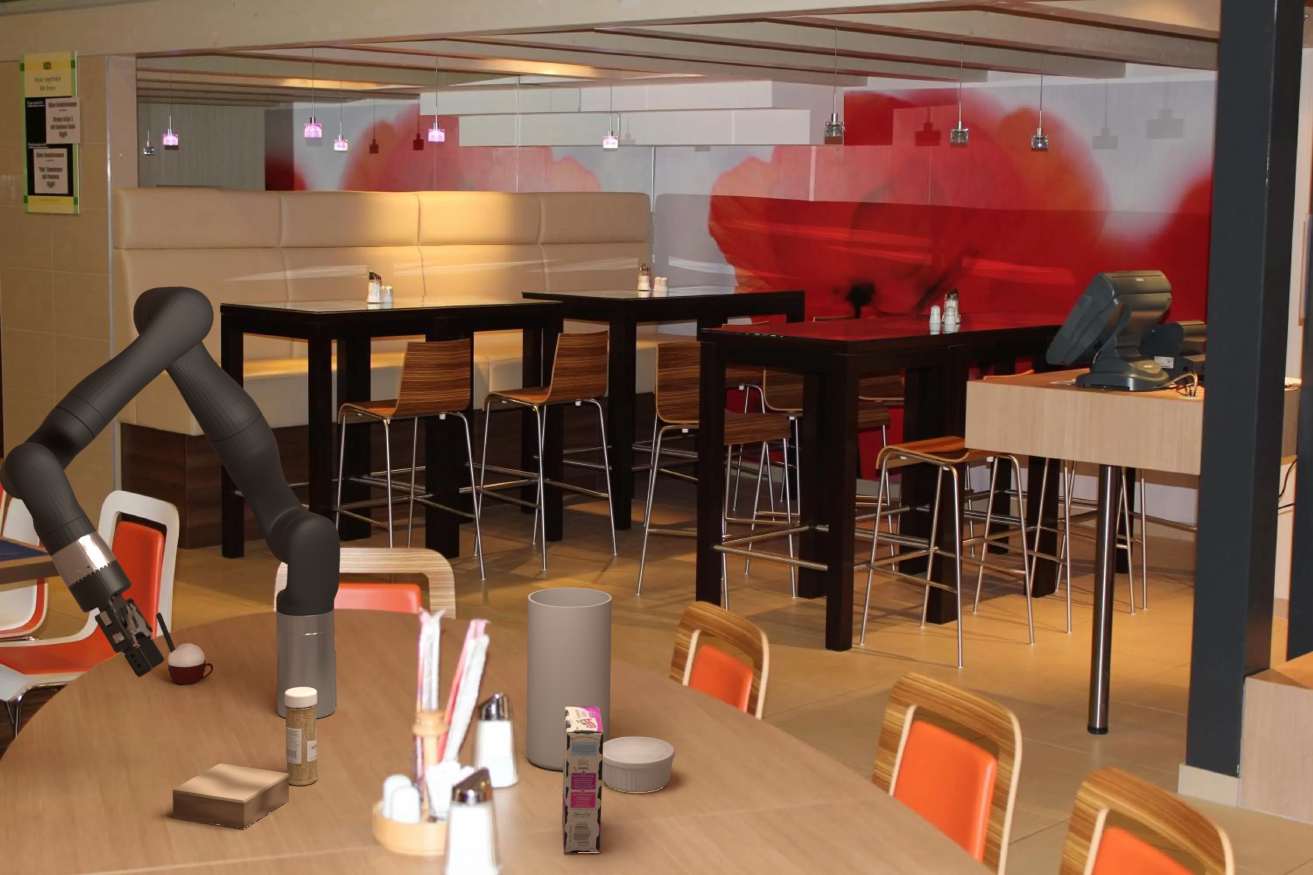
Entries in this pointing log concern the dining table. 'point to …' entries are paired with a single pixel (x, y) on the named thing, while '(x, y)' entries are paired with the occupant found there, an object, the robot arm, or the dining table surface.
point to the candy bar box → (582, 779)
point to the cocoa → (184, 659)
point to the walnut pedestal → (230, 795)
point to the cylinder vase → (565, 666)
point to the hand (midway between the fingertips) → (152, 669)
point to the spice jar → (301, 735)
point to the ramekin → (637, 763)
